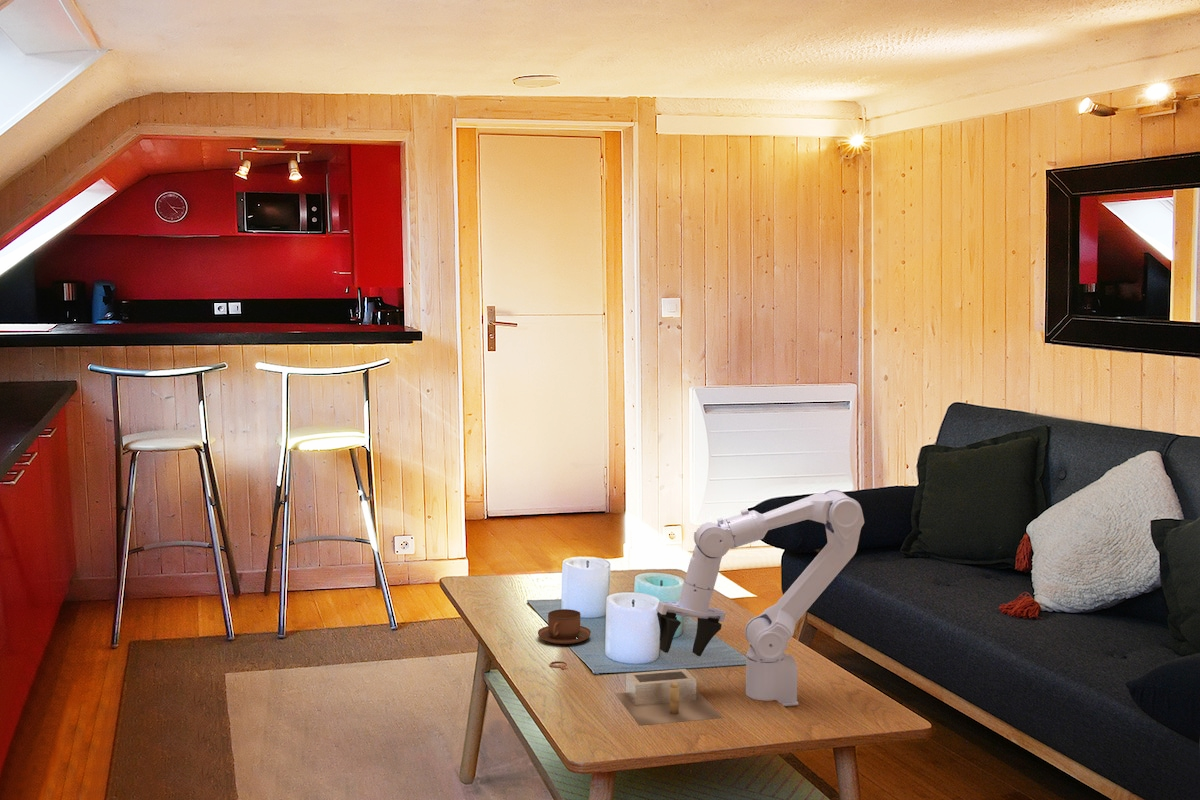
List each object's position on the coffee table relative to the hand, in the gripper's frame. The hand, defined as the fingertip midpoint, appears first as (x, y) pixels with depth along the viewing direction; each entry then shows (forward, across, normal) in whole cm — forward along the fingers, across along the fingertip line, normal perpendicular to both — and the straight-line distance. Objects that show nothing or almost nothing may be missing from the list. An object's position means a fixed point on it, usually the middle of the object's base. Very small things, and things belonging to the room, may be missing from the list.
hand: (680, 652), depth 223 cm
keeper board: (+10, +2, +4) cm, 12 cm away
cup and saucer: (+15, -1, -46) cm, 48 cm away
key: (+15, +7, -24) cm, 29 cm away
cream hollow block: (+9, +2, 0) cm, 9 cm away
